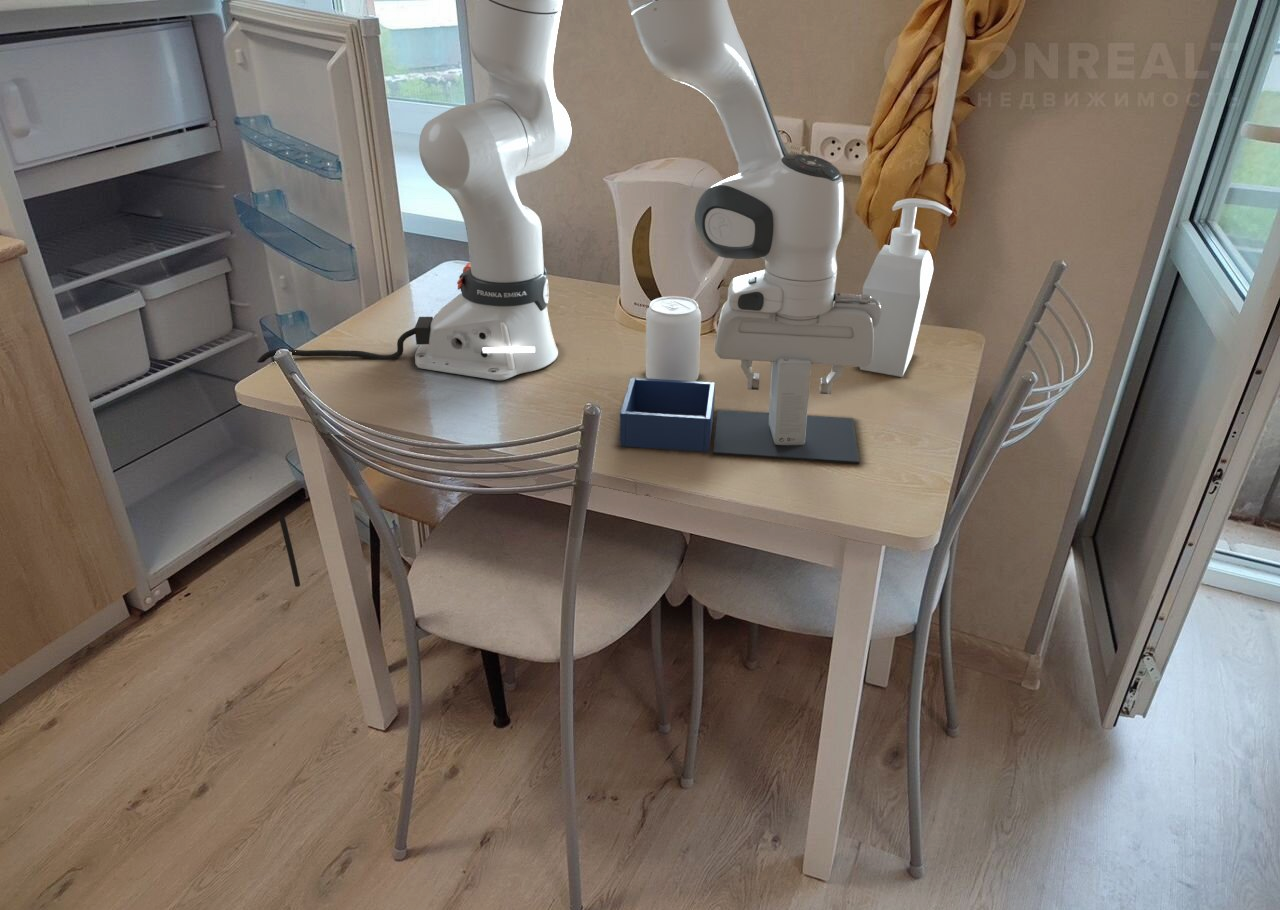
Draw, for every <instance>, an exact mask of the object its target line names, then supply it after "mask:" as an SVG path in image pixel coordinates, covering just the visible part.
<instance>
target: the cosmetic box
mask: <svg viewBox="0 0 1280 910" xmlns="http://www.w3.org/2000/svg"><path fill="white" fill-rule="evenodd" d="M770 368H771V369H770V387H769V388H770V390H769V406H768V407H769V409H768V413H769V427H770V430H771V434H772V437H773V440H774V443H775V445H804V443H805V435H806V422H807V416H808V411H809V410H808V408H809V395H810V382H811V371H812V370H811V369H812V364H811V362H810V361H809V360H801V359H782V358H781V359H778V362H771V367H770Z"/></svg>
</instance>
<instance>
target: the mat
mask: <svg viewBox="0 0 1280 910" xmlns="http://www.w3.org/2000/svg"><path fill="white" fill-rule="evenodd" d="M714 431H715V432H714V438H713V439H714V441H713V448H712V449H713V450H712V455H714V456H728V457H729V456H730V457H744V458H760V459H774V460H775V459H776V460H790V461H804V462H805V461H806V462H816V463H817V462H819V463H832V464H833V463H834V464H847V465H848V464H849V465H860V457H859V451H858V449H859V448H858V444H857V437H856V436H857V435H856V430H855V424H854V418H852V417H837V416H836V417H835V416H824V415H823V416H822V415H807V422H806V435H805V443H804V445H775V443H774V440H773V437H772V434H771V430H770V427H769V412H756V411H743V410H725V409H724V410H723V409H717V414H716V423H715V430H714Z"/></svg>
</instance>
